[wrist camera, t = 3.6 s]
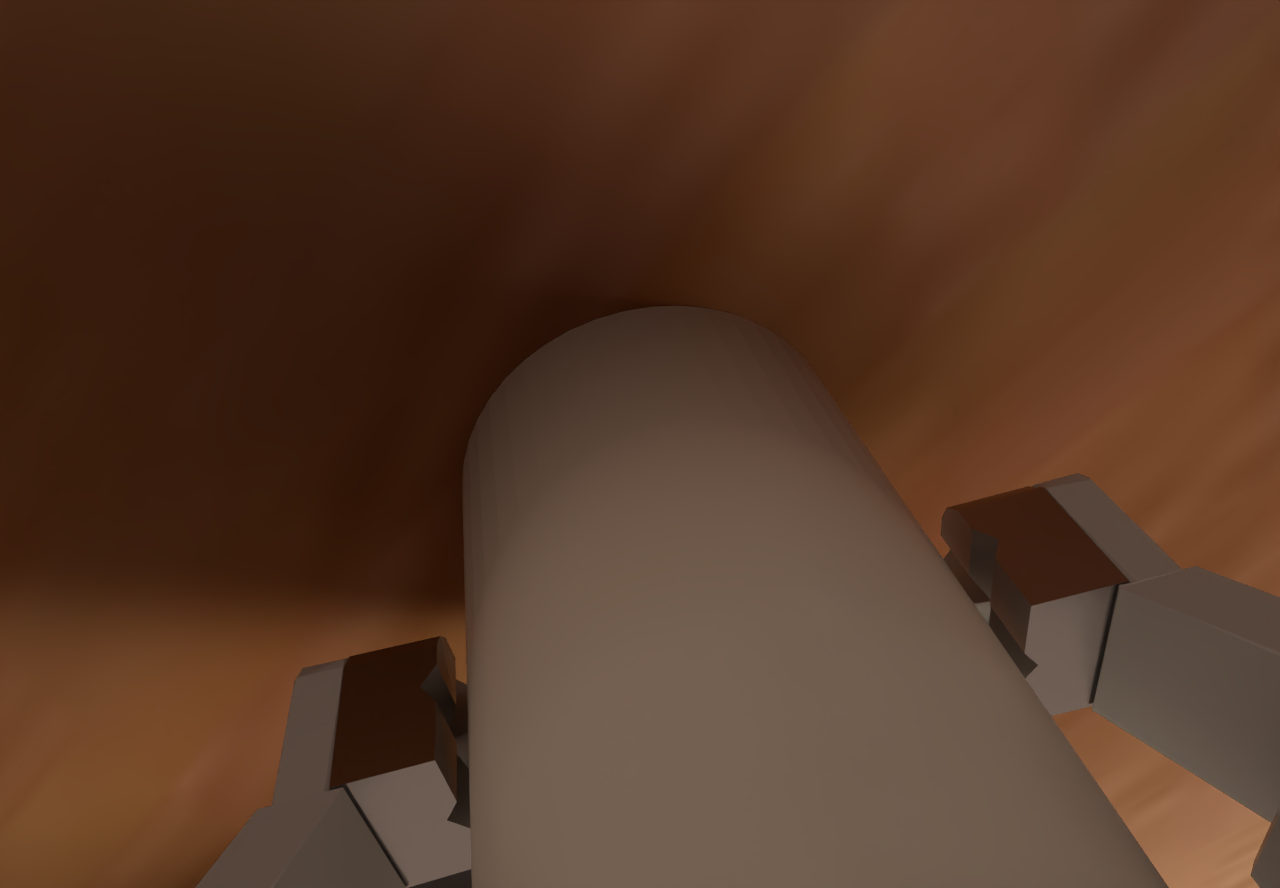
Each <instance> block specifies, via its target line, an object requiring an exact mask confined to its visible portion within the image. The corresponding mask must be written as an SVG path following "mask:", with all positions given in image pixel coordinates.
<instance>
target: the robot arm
mask: <svg viewBox="0 0 1280 888" xmlns="http://www.w3.org/2000/svg"><path fill="white" fill-rule="evenodd" d="M941 536H942V537H943V539H944V540H945V542H946V543H947V545H948V546H949V548H950V549H951V550H950V551H949V552H948V554H947V555H946V556H945V558H944V561H945V562H946V564H947V565H948V567H949V568H950V570H951V571H952V572H953V574H954V575H955V577H956V578H957V580H958V581H959V583H960V584H961V586H962V587H963V589H964V590H965V591H966V593H967V594H968V596H969V597H970V599H971V600H972V602H973V603H974V605H975V606H976V607H977V609H978V610H979V612H980V613H981V615H982V616H983V618H984V619H985V621H986V622H987V623H988V625H989V626H990V628H991V629H992V631H993V632H994V634H995V635H996V637H997V638H998V640H999V641H1000V642H1001V644H1002V645H1003V647H1004V648H1005V650H1006V651H1007V653H1008V654H1009V656H1010V657H1011V658H1012V660H1013V661H1014V663H1015V664H1016V666H1017V667H1018V669H1019V670H1020V672H1021V673H1022V675H1023V676H1024V677H1025V679H1026V680H1027V682H1028V683H1029V685H1030V686H1031V688H1032V689H1033V691H1034V692H1035V693H1036V695H1037V696H1038V698H1039V699H1040V701H1041V702H1042V704H1043V705H1044V707H1045V708H1046V709H1047V711H1048V712H1049V714H1050V715H1051V716H1052V715H1056V714H1060V713H1064V712H1069V711H1073V710H1077V709H1081V708H1086V707H1090V706H1093V708H1092V710H1093V711H1094V712H1096V713H1098V714H1099V715H1101V716H1102V717H1104V718H1106V719H1107V720H1109V721H1110V722H1112V723H1114V724H1115V725H1117V726H1118V727H1120V728H1121V729H1123V730H1125V731H1126V732H1128V733H1129V734H1131V735H1133V736H1134V737H1136V738H1137V739H1139V740H1141V741H1142V742H1144V743H1145V744H1147V745H1149V746H1150V747H1152V748H1153V749H1155V750H1156V751H1158V752H1160V753H1161V754H1163V755H1164V756H1166V757H1168V758H1169V759H1171V760H1172V761H1174V762H1176V763H1177V764H1179V765H1180V766H1182V767H1183V768H1185V769H1187V770H1188V771H1190V772H1191V773H1193V774H1195V775H1196V776H1198V777H1199V778H1201V779H1203V780H1204V781H1206V782H1207V783H1209V784H1210V785H1212V786H1214V787H1215V788H1217V789H1218V790H1220V791H1222V792H1223V793H1225V794H1226V795H1228V796H1230V797H1231V798H1233V799H1234V800H1236V801H1238V802H1239V803H1241V804H1242V805H1244V806H1245V807H1247V808H1249V809H1250V810H1252V811H1253V812H1255V813H1257V814H1258V815H1260V816H1261V817H1263V818H1265V819H1266V820H1268V821H1269V822H1271V825H1270V827H1269V829H1268V832H1267V834H1266V836H1265V838H1264V840H1263V843H1262V845H1261V847H1260V849H1259V851H1258V854H1257V856H1256V858H1255V860H1254V864H1253V868H1252V872H1251V876H1252V878H1253V879H1254V880H1255V882H1256V883H1257V884H1258V886H1259V887H1260V888H1280V597H1277V596H1274V595H1272V594H1269V593H1266V592H1264V591H1261V590H1258V589H1256V588H1253V587H1250V586H1248V585H1245V584H1242V583H1240V582H1237V581H1234V580H1232V579H1229V578H1226V577H1224V576H1221V575H1218V574H1216V573H1213V572H1210V571H1208V570H1205V569H1202V568H1200V567H1197V566H1195V567H1191V568H1186V569H1182V568H1181V567H1180V566H1179V565H1178V564H1177V563H1176V562H1175V561H1174V560H1172V559H1171V558H1170V557H1169V556H1168V555H1167V554H1166V553H1165V552H1164V551H1163V550H1162V549H1161V548H1160V547H1159V546H1158V545H1157V544H1156V543H1155V542H1154V541H1153V540H1152V539H1151V538H1150V537H1149V536H1148V535H1147V534H1146V533H1145V532H1144V531H1143V530H1142V529H1141V528H1140V527H1139V526H1138V525H1137V524H1136V523H1135V522H1134V521H1133V520H1132V519H1131V518H1130V517H1129V516H1128V515H1127V514H1126V513H1125V512H1124V511H1123V510H1122V509H1121V508H1120V507H1119V506H1118V505H1116V504H1115V503H1114V502H1113V501H1112V500H1111V499H1110V498H1109V497H1108V496H1107V495H1106V494H1105V493H1104V492H1103V491H1102V490H1101V489H1100V488H1099V487H1098V486H1097V485H1096V484H1095V483H1094V482H1093V481H1092V480H1091V479H1090V478H1089V477H1086V476H1084V475H1081V474H1079V473H1077V474H1073V475H1069V476H1065V477H1062V478H1058V479H1054V480H1050V481H1046V482H1043V483H1039V484H1035V485H1034V486H1032V487H1030V486H1028V487H1024V488H1020V489H1016V490H1013V491H1009V492H1005V493H1001V494H997V495H994V496H990V497H986V498H982V499H978V500H974V501H971V502H967V503H963V504H959V505H955V506H952V507H948V508H946V510H945V512H944V514H943V517H942V524H941ZM470 869H471V832H470V790H469V748H468V706H467V685H466V684H464V683H462V682H460V681H458V680H456V668H455V656H454V654H453V652H452V650H451V648H450V646H449V644H448V642H447V640H446V638H444V637H441V636H438V637H434V638H429V639H425V640H420V641H416V642H412V643H407V644H403V645H398V646H394V647H389V648H385V649H381V650H376V651H372V652H367V653H363V654H359V655H354V656H350V657H349V658H346V659H341V660H337V661H332V662H328V663H323V664H319V665H314V666H310V667H305V668H302V670H301V672H300V673H299V675H298V676H297V678H296V680H295V682H294V686H293V692H292V697H291V703H290V708H289V714H288V719H287V725H286V730H285V735H284V741H283V746H282V752H281V757H280V763H279V768H278V773H277V779H276V784H275V790H274V795H273V801H272V805H271V806H267V807H264V808H260V809H257V810H256V811H255V813H254V814H253V815H252V816H251V818H250V819H249V820H248V821H247V823H246V824H245V825H244V827H243V828H242V829H241V830H240V832H239V833H238V834H237V835H236V837H235V838H234V839H233V840H232V842H231V843H230V844H229V846H228V847H227V848H226V849H225V851H224V852H223V853H222V854H221V856H220V857H219V858H218V859H217V861H216V862H215V863H214V865H213V866H212V867H211V868H210V870H209V871H208V872H207V873H206V875H205V876H204V877H203V878H202V880H201V881H200V882H199V883H198V885H197V886H196V887H195V888H409V887H412V886H415V885H419V884H422V883H426V882H429V881H432V880H436V879H439V878H443V877H446V876H449V875H453V874H456V873H460V872H463V871H466V870H470Z"/></svg>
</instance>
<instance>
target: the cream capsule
mask: <svg viewBox="0 0 1280 888" xmlns="http://www.w3.org/2000/svg"><path fill="white" fill-rule="evenodd" d="M462 496H463V538H464V580H465V622H466V664H467V706H468V748H469V790H470V832H471V874H472V888H1169V887H1168V886H1167V884H1166V883H1165V882H1164V880H1163V879H1162V877H1161V876H1160V874H1159V873H1158V871H1157V870H1156V868H1155V867H1154V865H1153V864H1152V863H1151V861H1150V860H1149V858H1148V857H1147V855H1146V854H1145V852H1144V851H1143V849H1142V848H1141V847H1140V845H1139V844H1138V842H1137V841H1136V839H1135V838H1134V836H1133V835H1132V833H1131V832H1130V830H1129V829H1128V828H1127V826H1126V825H1125V823H1124V822H1123V820H1122V819H1121V817H1120V816H1119V814H1118V813H1117V812H1116V810H1115V809H1114V807H1113V806H1112V804H1111V803H1110V801H1109V800H1108V798H1107V797H1106V795H1105V794H1104V793H1103V791H1102V790H1101V788H1100V787H1099V785H1098V784H1097V782H1096V781H1095V779H1094V778H1093V777H1092V775H1091V774H1090V772H1089V771H1088V769H1087V768H1086V766H1085V765H1084V763H1083V762H1082V761H1081V759H1080V758H1079V756H1078V755H1077V753H1076V752H1075V750H1074V749H1073V747H1072V746H1071V744H1070V743H1069V742H1068V740H1067V739H1066V737H1065V736H1064V734H1063V733H1062V731H1061V730H1060V728H1059V727H1058V726H1057V724H1056V723H1055V721H1054V720H1053V718H1052V717H1051V715H1050V714H1049V712H1048V711H1047V709H1046V708H1045V707H1044V705H1043V704H1042V702H1041V701H1040V699H1039V698H1038V696H1037V695H1036V693H1035V692H1034V691H1033V689H1032V688H1031V686H1030V685H1029V683H1028V682H1027V680H1026V679H1025V677H1024V676H1023V675H1022V673H1021V672H1020V670H1019V669H1018V667H1017V666H1016V664H1015V663H1014V661H1013V660H1012V658H1011V657H1010V656H1009V654H1008V653H1007V651H1006V650H1005V648H1004V647H1003V645H1002V644H1001V642H1000V641H999V640H998V638H997V637H996V635H995V634H994V632H993V631H992V629H991V628H990V626H989V625H988V623H987V622H986V621H985V619H984V618H983V616H982V615H981V613H980V612H979V610H978V609H977V607H976V606H975V605H974V603H973V602H972V600H971V599H970V597H969V596H968V594H967V593H966V591H965V590H964V589H963V587H962V586H961V584H960V583H959V581H958V580H957V578H956V577H955V575H954V574H953V572H952V571H951V570H950V568H949V567H948V565H947V564H946V562H945V561H944V559H943V558H942V556H941V555H940V554H939V552H938V551H937V549H936V548H935V546H934V545H933V543H932V542H931V540H930V539H929V537H928V536H927V535H926V533H925V532H924V530H923V529H922V527H921V526H920V524H919V523H918V521H917V520H916V519H915V517H914V516H913V514H912V513H911V511H910V510H909V508H908V507H907V505H906V504H905V502H904V501H903V500H902V498H901V497H900V495H899V494H898V492H897V491H896V489H895V488H894V486H893V485H892V484H891V482H890V481H889V479H888V478H887V476H886V475H885V473H884V472H883V470H882V469H881V468H880V466H879V465H878V463H877V462H876V460H875V459H874V457H873V456H872V454H871V453H870V451H869V450H868V449H867V447H866V446H865V444H864V443H863V441H862V440H861V438H860V437H859V435H858V434H857V433H856V431H855V430H854V428H853V427H852V425H851V424H850V422H849V421H848V419H847V418H846V416H845V415H844V414H843V412H842V411H841V409H840V408H839V406H838V405H837V403H836V402H835V400H834V399H833V398H832V396H831V395H830V393H829V392H828V390H827V389H826V387H825V386H824V384H823V383H822V382H821V380H820V379H819V377H818V376H817V374H816V373H815V372H814V370H813V369H812V367H811V366H810V365H809V363H808V362H807V360H806V359H805V358H804V357H803V356H802V355H801V354H800V353H799V352H798V351H797V350H796V349H795V348H794V347H793V346H792V345H791V344H789V343H788V342H786V341H785V340H784V339H782V338H781V337H780V336H778V335H777V334H775V333H774V332H773V331H771V330H769V329H767V328H765V327H763V326H761V325H759V324H757V323H755V322H753V321H751V320H748V319H745V318H743V317H740V316H737V315H734V314H731V313H728V312H723V311H718V310H713V309H709V308H704V307H691V306H677V305H676V306H656V307H645V308H640V309H634V310H628V311H622V312H619V313H615V314H612V315H608V316H605V317H602V318H598V319H595V320H593V321H590V322H588V323H586V324H583V325H581V326H579V327H576V328H574V329H572V330H569V331H567V332H566V333H564V334H562V335H561V336H559V337H557V338H555V339H554V340H552V341H550V342H548V343H547V344H545V345H544V346H542V347H541V348H540V349H538V350H537V351H536V352H534V353H533V354H532V355H530V356H529V357H528V358H526V359H525V360H524V361H523V362H522V363H521V364H520V365H519V366H518V367H517V368H516V369H514V370H513V371H512V372H511V373H510V374H509V375H508V376H507V377H506V378H505V379H504V381H503V382H502V383H501V384H500V386H499V387H498V388H497V389H496V391H495V392H494V393H493V395H492V396H491V397H490V398H489V400H488V402H487V403H486V405H485V407H484V409H483V410H482V412H481V414H480V415H479V417H478V419H477V421H476V423H475V426H474V428H473V431H472V434H471V436H470V439H469V441H468V445H467V450H466V454H465V458H464V463H463V479H462Z"/></svg>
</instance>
